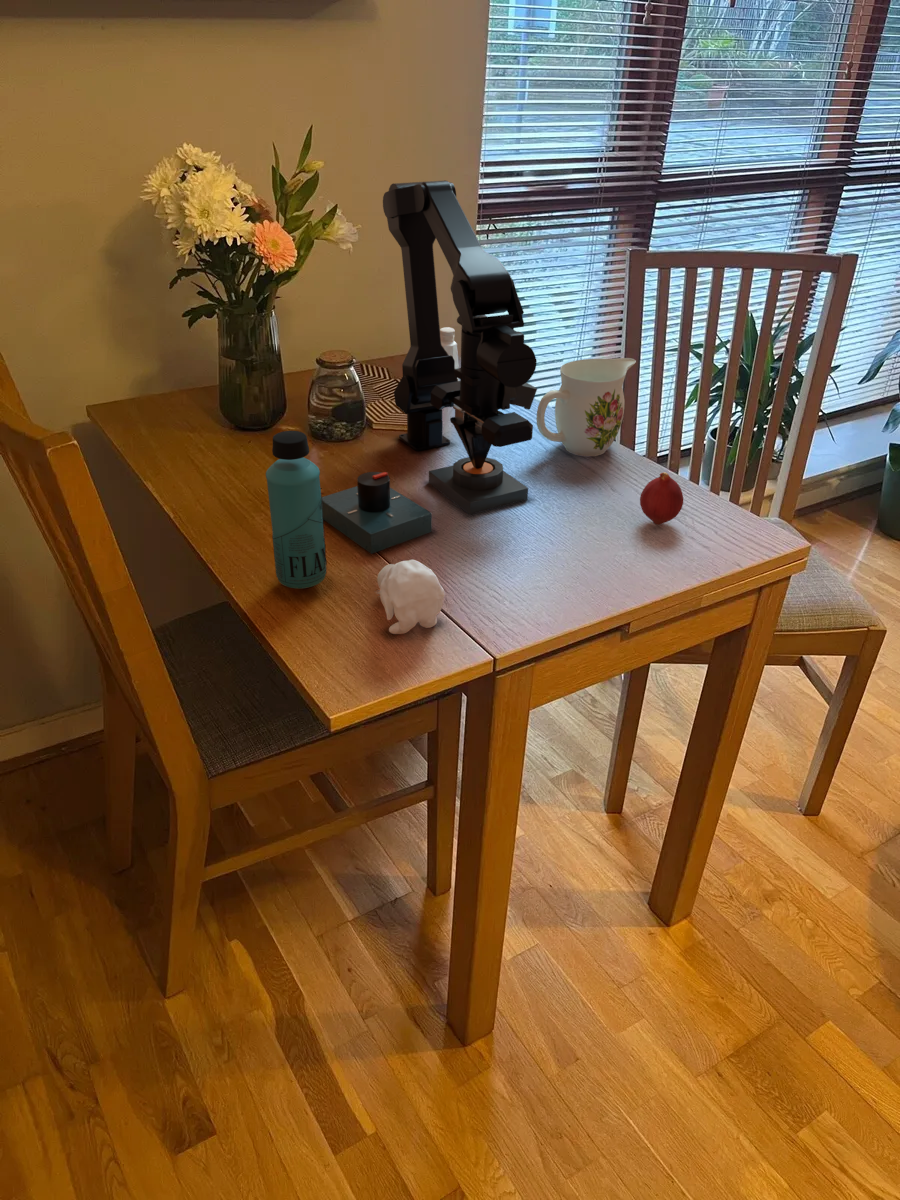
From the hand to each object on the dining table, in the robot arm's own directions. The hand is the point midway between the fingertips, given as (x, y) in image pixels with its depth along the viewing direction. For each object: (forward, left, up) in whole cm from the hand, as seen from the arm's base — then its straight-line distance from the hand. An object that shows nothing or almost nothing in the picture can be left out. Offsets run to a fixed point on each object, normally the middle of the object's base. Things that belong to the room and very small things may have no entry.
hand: (477, 467), depth 135 cm
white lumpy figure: (+24, -25, -4) cm, 35 cm away
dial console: (+2, -18, -4) cm, 19 cm away
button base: (0, 0, -4) cm, 4 cm away
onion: (+21, +17, -4) cm, 27 cm away
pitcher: (-5, +23, -4) cm, 24 cm away
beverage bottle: (+12, -33, -4) cm, 35 cm away
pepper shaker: (-40, +18, +2) cm, 44 cm away
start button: (0, 0, -2) cm, 2 cm away
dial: (+2, -18, -1) cm, 18 cm away
